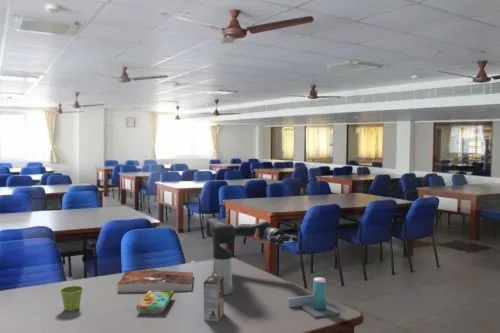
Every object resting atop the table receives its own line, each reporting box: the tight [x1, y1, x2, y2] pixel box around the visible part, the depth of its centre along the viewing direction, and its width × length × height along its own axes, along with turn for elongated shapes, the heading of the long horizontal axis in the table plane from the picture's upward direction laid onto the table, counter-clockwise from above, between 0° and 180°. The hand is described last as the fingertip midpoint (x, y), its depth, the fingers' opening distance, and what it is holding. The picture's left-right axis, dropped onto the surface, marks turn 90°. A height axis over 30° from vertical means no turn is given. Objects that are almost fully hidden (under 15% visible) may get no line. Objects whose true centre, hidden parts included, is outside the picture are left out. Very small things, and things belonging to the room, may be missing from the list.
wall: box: [287, 294, 313, 309], centre depth 198 cm, size 18×1×4 cm, turn 110°
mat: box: [300, 302, 341, 319], centre depth 190 cm, size 12×13×1 cm
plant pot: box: [59, 285, 84, 312], centre depth 191 cm, size 9×9×9 cm
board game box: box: [116, 269, 194, 293], centre depth 226 cm, size 36×23×5 cm, turn 95°
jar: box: [312, 276, 327, 311], centre depth 190 cm, size 6×6×13 cm
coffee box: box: [203, 275, 225, 322], centre depth 183 cm, size 9×6×16 cm
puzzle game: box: [135, 290, 175, 315], centre depth 195 cm, size 12×5×20 cm
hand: (289, 241), depth 210 cm, fingers open, 8 cm apart
